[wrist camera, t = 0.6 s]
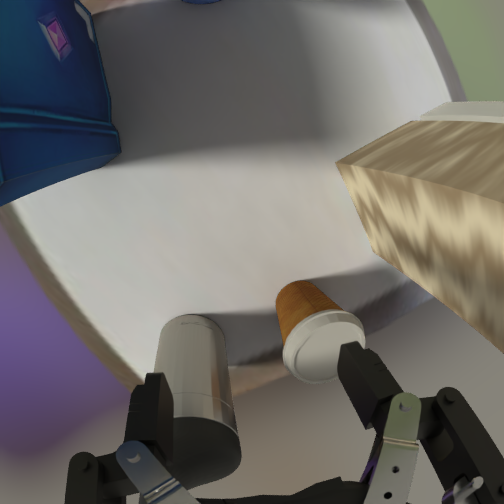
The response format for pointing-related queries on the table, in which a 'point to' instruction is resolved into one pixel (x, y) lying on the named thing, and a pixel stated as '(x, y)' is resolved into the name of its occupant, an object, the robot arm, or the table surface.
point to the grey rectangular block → (467, 112)
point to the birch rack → (438, 212)
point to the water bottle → (200, 1)
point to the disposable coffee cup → (314, 332)
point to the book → (50, 96)
